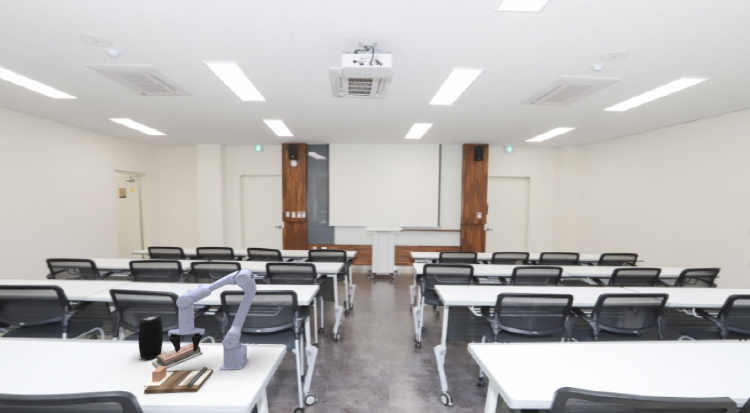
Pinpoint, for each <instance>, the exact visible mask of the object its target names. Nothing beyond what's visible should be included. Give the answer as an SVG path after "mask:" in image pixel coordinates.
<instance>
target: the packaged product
mask: <svg viewBox="0 0 750 413" xmlns="http://www.w3.org/2000/svg"><path fill="white" fill-rule="evenodd" d="M201 350H202V348H201V347H200V344H199V345H198V349H197V350H196V351H193V342H191V343H188V344H186V345H182V346H180V350H179V351H178V352H176V351H175V349H171V350H170V351H169V350H168V351H167V352H164V353H161V354H160V355H158V356H157V357H156V360H153V361H152V362H151V363H152V365H153V366H154V367H155V369H156V368H158V367H159V366H166V370H168V369H169V368H172V367H174V366H176V365H179V364H182V363H184V362H187V361H190V360H191V359H194V358H197V357H199V356H201V355H203V352H202V351H201Z"/></svg>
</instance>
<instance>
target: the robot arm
mask: <svg viewBox="0 0 750 413" xmlns="http://www.w3.org/2000/svg"><path fill="white" fill-rule="evenodd" d="M227 285H232V286H234V285H237V286H238V287H239V288H240V289H242V291H243V293H244V295H243V297H242V299H241V301H240V304H239V307H238V309H237V312H236V314H235V316H234V319H233V322H232V324H231V326H230V328H229V329H228V331H227V332H226V334H225V337H224V338H223V340H222V342H221V343H222V348H223V364H222V365H221V367H220V368H219V370H223V371H225V370H227V371H228V370H242V368H243V367H244V365H245V364H246V363H247V361H248V348H247V347H248V346H247V344H243V343H241V340H240V338H241V335H242V328H243V326H244V322H245V321H246V318H247V315H248V312H249V311H250V308H251V305H252V303H253V300H254V298H255V295H256V293H257V291H258V290H257V289H258V288H257V285H256V278H255V274H254V273H253V271H252V269H250V268H247V267H245V268H242V269H240V270H237V271H234V272H231V273H229V274H227V275H225V276H224V277H222V278H219V279H217V280H216V281H214V282H212V283H210V284H208V283H207V284H206V283H204V284H202V283H201V284H199V285H197V287H196V288H193V289H192V290H191V289H189V290H187V291H186V292H184V293H183V294H181V295H180V296H179V297H178V298H177V299H176V300H175V302H176V304H175V305H176V306H177V307H178V312H177V313H178V328H176V329H170V330H168V331H167V336H169V338H168V340H169V341H170V342H171V344H172V346H173V348H174V350H175V351H176V352H178V351H179V350H180V347H181V339H182V336H188V335H190V336H191V335H193V336H191V340H192V343H193V351H196V350H197V349H198V345H199V346H200V341H201V339H202V337H203V335H204V334H205V331H206V330H205V328H200V327H195V310H194V307H195V306H194V303H197V302H199V301H201V300H203V299H205V298H207V297H210V296H211V294H212V292H214V291H216V290H218V289H220V288H222V287H224V286H227Z"/></svg>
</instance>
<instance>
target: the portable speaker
mask: <svg viewBox="0 0 750 413" xmlns="http://www.w3.org/2000/svg"><path fill="white" fill-rule="evenodd" d="M163 335H164V334H163V322H162V318H161V314H154V313H153V314H147V315H144V317H142V318H140V321H139V326H138V334H137V336H138V350H139V357H140V359H141V360H142V359H143V360H145V361H146V362H147V361H151V360H154V359H157V356H159V355H161V354H162V350H163V348H162V347H163V340H164V336H163Z"/></svg>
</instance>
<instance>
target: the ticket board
mask: <svg viewBox="0 0 750 413" xmlns="http://www.w3.org/2000/svg"><path fill="white" fill-rule="evenodd" d="M166 372H174V373H173V374H172V375H171V376H170V377H169V378H168V379H167V380H166V381H165V382H164V383H162V384H161V385H160V386H151V387H145V389H144V392H143V394H144V395H148V394H149V395H150V394H154V395H155V394H174V393H176V394H177V393H196V392H198V391H199V390H200V389H201V388H202V386H203V385H204V384H205V383H206V382H207V380H208V379H209V378H210V377H211V376H212V374H213V373H214V369H213V368H208V366H203V367H202V368H201V369H183V370H182V369H180V370H179V369H178V370H177V369H176V370H166Z"/></svg>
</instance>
